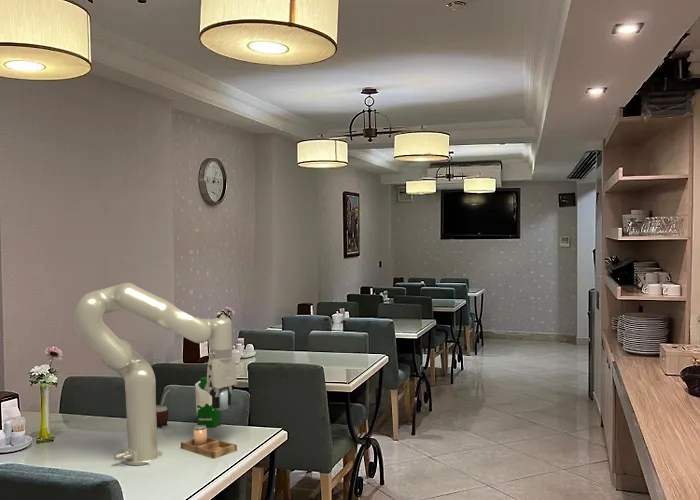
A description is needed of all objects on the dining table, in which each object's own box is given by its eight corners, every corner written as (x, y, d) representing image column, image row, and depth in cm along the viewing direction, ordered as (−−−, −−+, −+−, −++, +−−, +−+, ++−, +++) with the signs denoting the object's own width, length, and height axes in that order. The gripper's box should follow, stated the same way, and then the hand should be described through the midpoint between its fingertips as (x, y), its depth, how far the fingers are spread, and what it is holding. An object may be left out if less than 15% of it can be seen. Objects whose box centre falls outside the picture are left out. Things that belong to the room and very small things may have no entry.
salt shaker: (221, 410, 226) (220, 389, 226) (212, 408, 229) (212, 388, 229) (230, 408, 230) (230, 387, 230) (222, 406, 232) (222, 385, 232)
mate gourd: (149, 425, 262) (147, 388, 261) (169, 422, 265) (167, 385, 265) (151, 430, 255) (150, 391, 255) (172, 427, 258) (171, 389, 258)
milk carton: (194, 431, 252) (192, 379, 251) (202, 424, 261) (200, 374, 260) (217, 431, 251) (214, 378, 250) (223, 424, 260) (221, 373, 259)
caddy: (213, 462, 215) (213, 452, 215) (181, 451, 227) (180, 442, 227) (237, 454, 222) (236, 444, 222) (204, 444, 235) (203, 435, 235)
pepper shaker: (199, 450, 225) (198, 429, 225) (191, 447, 228) (190, 427, 227) (209, 446, 228) (209, 426, 228) (202, 444, 231) (201, 424, 231)
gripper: (208, 358, 220) (209, 413, 220) (246, 351, 233) (247, 403, 233) (194, 356, 225) (195, 409, 225) (232, 349, 238) (232, 400, 238)
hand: (221, 405), depth 229 cm, fingers closed on salt shaker, 4 cm apart
